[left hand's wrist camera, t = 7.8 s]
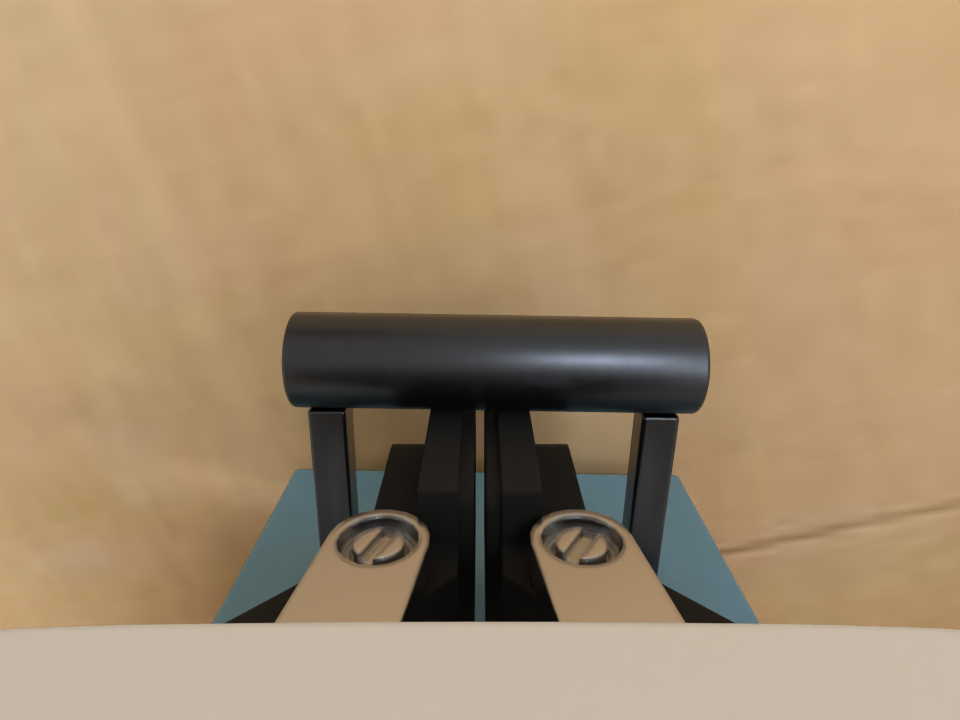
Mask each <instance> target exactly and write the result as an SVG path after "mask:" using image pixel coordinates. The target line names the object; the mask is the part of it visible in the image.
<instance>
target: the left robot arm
mask: <svg viewBox="0 0 960 720" xmlns="http://www.w3.org/2000/svg"><path fill="white" fill-rule="evenodd" d="M475 557H476V410H446V409H431V412H430V418H429V424H428V429H427V435H426V441H425V444H393V445H392V447H391V450H390V454H389V457H388V461H387V465H386V468H385V472H384V476H383V479H382V483H381V487H380V490H379V494H378V498H377V501H376V505H375V509H374V510H373V511H367V512H362V513H359V514H357V515H354V516H352V517H349V518H347V519H346V520H344V521H342V522H341V523H339V524H338V525H337V526H336V527H335V528H334V529H333V530H332V531H331V532H330V533H329V535H328V536H327V538H326V540H325V541H324V543H323V545H322V546H321V548H320V549H319V551H318V553H317V554H316V556H315V558H314V559H313V561H312V562H311V564H310V566H309V567H308V569H307V571H306V572H305V574H304V575H303V577H302V579H301V580H300V582H299V583H298V584H297V585H295V586H293V587H291V588H289V589H287V590H285V591H283V592H282V593H280V594H278V595H276V596H274V597H272V598H270V599H269V600H267V601H265V602H263V603H261V604H259V605H257V606H256V607H254V608H252V609H250V610H248V611H246V612H244V613H242V614H241V615H239V616H237V617H235V618H233V619H231V620H229V621H228V622H226V623H224V624H140V625H102V626H72V627H41V628H14V629H0V720H960V629H946V628H924V627H891V626H857V625H820V624H736V623H734V622H732V621H731V620H729V619H727V618H725V617H723V616H721V615H719V614H717V613H716V612H714V611H712V610H710V609H708V608H706V607H704V606H703V605H701V604H699V603H697V602H695V601H693V600H691V599H690V598H688V597H686V596H684V595H682V594H680V593H678V592H676V591H675V590H673V589H671V588H669V587H667V586H665V585H663V584H662V583H661V582H660V580H659V579H658V577H657V575H656V574H655V572H654V571H653V569H652V567H651V566H650V564H649V562H648V561H647V559H646V558H645V556H644V554H643V553H642V551H641V549H640V548H639V546H638V545H637V543H636V541H635V540H634V538H633V536H632V535H631V533H630V532H629V531H628V530H627V529H626V528H625V527H624V526H623V525H622V524H621V523H619V522H618V521H616V520H614V519H613V518H611V517H608V516H606V515H603V514H601V513H598V512H593V511H587V510H586V509H585V505H584V502H583V498H582V494H581V491H580V487H579V483H578V480H577V476H576V472H575V469H574V465H573V461H572V458H571V454H570V450H569V447H568V445H567V444H535V441H534V436H533V430H532V424H531V418H530V412H529V411H506V410H484V560H485V622H475Z"/></svg>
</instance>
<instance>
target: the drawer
mask: <svg viewBox="0 0 960 720" xmlns="http://www.w3.org/2000/svg"><path fill="white" fill-rule="evenodd" d="M282 376H283V383H284V388H285V392H286V395H287V398H288V400H289V402H290V403H291V404H292V405H293V406H295V407H311V408H310V410H309V412H308V416H309V428H310V439H311V451H312V463H313V470H299V469H298V470H296V471H295V472H294V474H293V476H292V478H291V480H290V482H289V483H288V485H287V487H286V489H285V491H284V493H283V494H282V496H281V498H280V500H279V502H278V504H277V505H276V507H275V509H274V511H273V513H272V515H271V517H270V518H269V520H268V522H267V524H266V526H265V528H264V529H263V531H262V533H261V535H260V537H259V539H258V540H257V542H256V544H255V546H254V548H253V550H252V551H251V553H250V555H249V557H248V559H247V561H246V563H245V564H244V566H243V568H242V570H241V572H240V574H239V575H238V577H237V579H236V581H235V583H234V585H233V586H232V588H231V590H230V592H229V594H228V596H227V597H226V599H225V601H224V603H223V605H222V607H221V609H220V610H219V612H218V614H217V616H216V618H215V620H214V621H213V623H212V624H224V623H226V622H228V621H229V620H231V619H233V618H235V617H237V616H239V615H241V614H242V613H244V612H246V611H248V610H250V609H252V608H254V607H256V606H257V605H259V604H261V603H263V602H265V601H267V600H269V599H270V598H272V597H274V596H276V595H278V594H280V593H282V592H283V591H285V590H287V589H289V588H291V587H293V586H295V585H297V584H298V583H299V582H300V580H301V579H302V577H303V575H304V574H305V572H306V571H307V569H308V567H309V566H310V564H311V562H312V561H313V559H314V558H315V556H316V554H317V553H318V551H319V549H320V548H321V546H322V545H323V543H324V541H325V540H326V538H327V536H328V535H329V533H330V532H331V531H332V530H333V529H334V528H335V527H336V526H337V525H338V524H339V523H341V522H342V521H344V520H346V519H347V518H349V517H352V516H354V515H357V514H359V513H362V512H367V511H373V510H374V509H375V505H376V501H377V498H378V494H379V490H380V487H381V483H382V479H383V476H384V472H385V471H360V470H356V460H355V443H354V426H353V409H352V408H386V409H446V410H506V411H566V412H625V413H634V421H633V430H632V439H631V448H630V457H629V466H628V475H601V474H576V476H577V480H578V483H579V487H580V491H581V494H582V498H583V502H584V505H585V509H586V510H587V511H593V512H598V513H601V514H603V515H606V516H608V517H611V518H613V519H614V520H616V521H618V522H619V523H621V524H622V525H623V526H624V527H625V528H626V529H627V530H628V531H629V532H630V533H631V535H632V536H633V538H634V540H635V541H636V543H637V545H638V546H639V548H640V549H641V551H642V553H643V554H644V556H645V558H646V559H647V561H648V562H649V564H650V566H651V567H652V569H653V571H654V572H655V574H656V575H657V577H658V579H659V580H660V582H661V583H662V584H663V585H665V586H667V587H669V588H671V589H673V590H675V591H676V592H678V593H680V594H682V595H684V596H686V597H688V598H690V599H691V600H693V601H695V602H697V603H699V604H701V605H703V606H704V607H706V608H708V609H710V610H712V611H714V612H716V613H717V614H719V615H721V616H723V617H725V618H727V619H729V620H731V621H732V622H734V623H736V624H760V623H759V622H758V620H757V618H756V616H755V614H754V613H753V611H752V609H751V607H750V605H749V604H748V602H747V600H746V598H745V596H744V595H743V593H742V591H741V589H740V587H739V586H738V584H737V582H736V580H735V578H734V577H733V575H732V573H731V571H730V569H729V568H728V566H727V564H726V562H725V560H724V559H723V557H722V555H721V553H720V551H719V550H718V548H717V546H716V544H715V542H714V541H713V539H712V537H711V535H710V533H709V532H708V530H707V528H706V526H705V524H704V523H703V521H702V519H701V517H700V515H699V514H698V512H697V510H696V508H695V506H694V505H693V503H692V501H691V499H690V497H689V495H688V494H687V492H686V490H685V488H684V486H683V485H682V483H681V481H680V479H679V477H677V476H671V474H672V467H673V459H674V452H675V445H676V438H677V430H678V423H679V418H678V415H677V414H676V413H685V414H692V413H695V412H697V411H698V410H699V409H700V408H701V407H702V405H703V403H704V400H705V397H706V394H707V390H708V385H709V377H710V352H709V345H708V339H707V335H706V332H705V330H704V327H703V326H702V324H701V323H700V322H699V321H698V320H696V319H690V318H631V317H572V316H513V315H454V314H395V313H336V312H296V313H294V314H293V315H292V316H291V317H290V319H289V321H288V324H287V327H286V331H285V335H284V340H283V348H282ZM475 622H485V560H484V473H480V472H476V557H475Z"/></svg>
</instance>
